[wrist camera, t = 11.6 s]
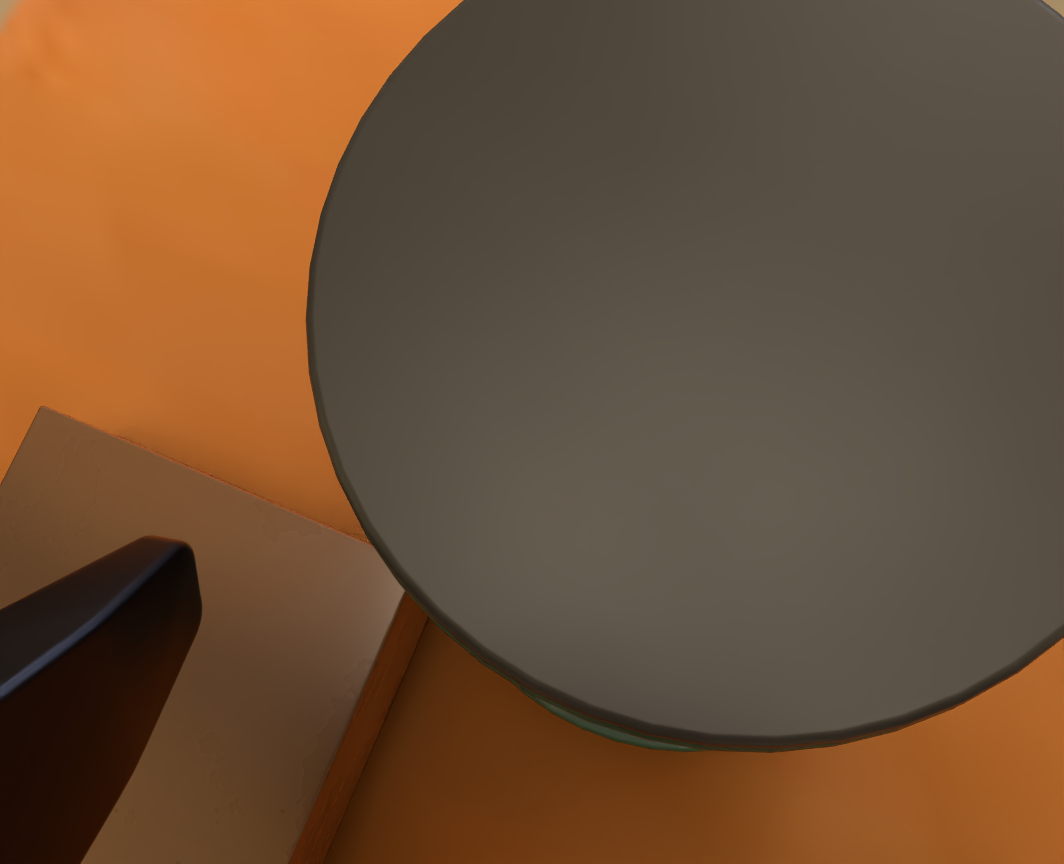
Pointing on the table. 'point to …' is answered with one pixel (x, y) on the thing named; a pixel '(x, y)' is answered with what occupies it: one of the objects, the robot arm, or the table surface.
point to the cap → (711, 354)
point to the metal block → (223, 647)
